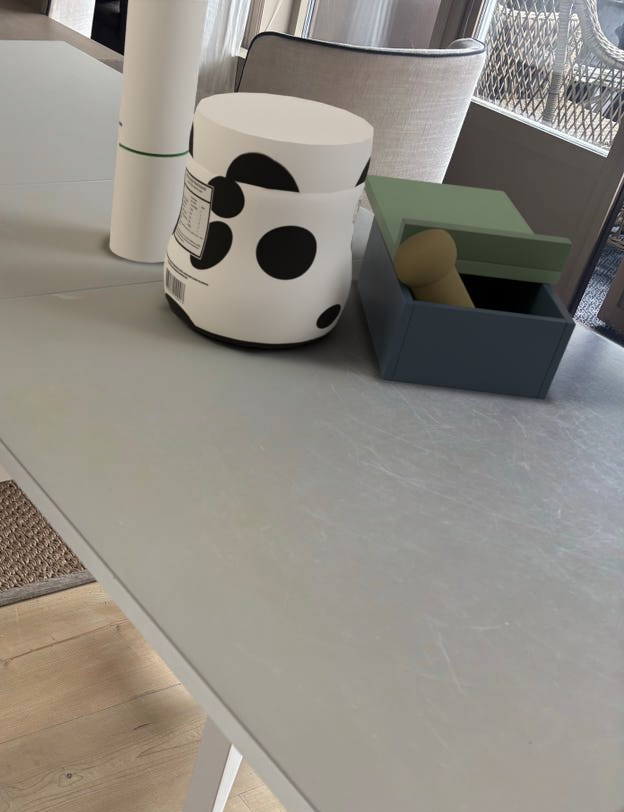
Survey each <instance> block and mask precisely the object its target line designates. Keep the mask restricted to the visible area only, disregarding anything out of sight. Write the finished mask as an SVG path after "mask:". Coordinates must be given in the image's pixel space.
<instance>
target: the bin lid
mask: <svg viewBox="0 0 624 812" xmlns="http://www.w3.org/2000/svg"><path fill="white" fill-rule="evenodd" d="M364 193H365V195H366V198H367V199H368V202H369V205H370V207H371V211H372V213H373V216H374V215H375V218H376V221H377V223H378V226H379V228H380V231H381V233H382V236H383V239H384V241H385V244H386V246H387V249H388V252H389V254H390V257H391V259H392V262H393V260H394V255H395V252H396V250H397V249H398V247H399V246H400V245H401V244H402V243H403V242H404V241H405V240H407V239H408V238H410V237H411V236H413V235H415V234H417V233H420V232H423V231H426V230H430V229H441V230H444V231H446V232H447V233H448V234H450V236H451V237H452V239H453V240H454V242H455V246H456V249H457V258H456V261H455V264H454V266H455V268H456V270H457V272H458V273H462V274H470V275H478V276H487V277H495V278H503V279H511V280H520V281H528V282H536V283H545V284H550V285H554V286H557V285H558V283H559V280H560V278H561V275H562V272H563V270H564V267H565V265H566V262H567V260H568V257H569V255H570V252H571V250H572V247H573V243H572V241H571V240H570V239H569V237H563V236H562V237H561V236H555V235H548V234H547V235H545V234H539V233H538V234H537V233H534V231H533V230H532V229H531V227H530V226H529V225H528V223H527V221H526V220H525V218H523V216H522V214H521V213H520V212H519V210H518V209H517V208H516V206H515V205H514V203H513V202H512V201H511V199H510V198H509V197H508V195H507V193H506V192H505V191H504V190H497V189H488V188H482V187H481V188H480V187H471V186H465V185H456V184H447V183H440V182H432V181H425V180H416V179H409V178H408V179H407V178H400V177H392V176H384V175H375V174H368V173H367V176H366V179H365V189H364ZM393 264H394V263H393Z"/></svg>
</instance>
